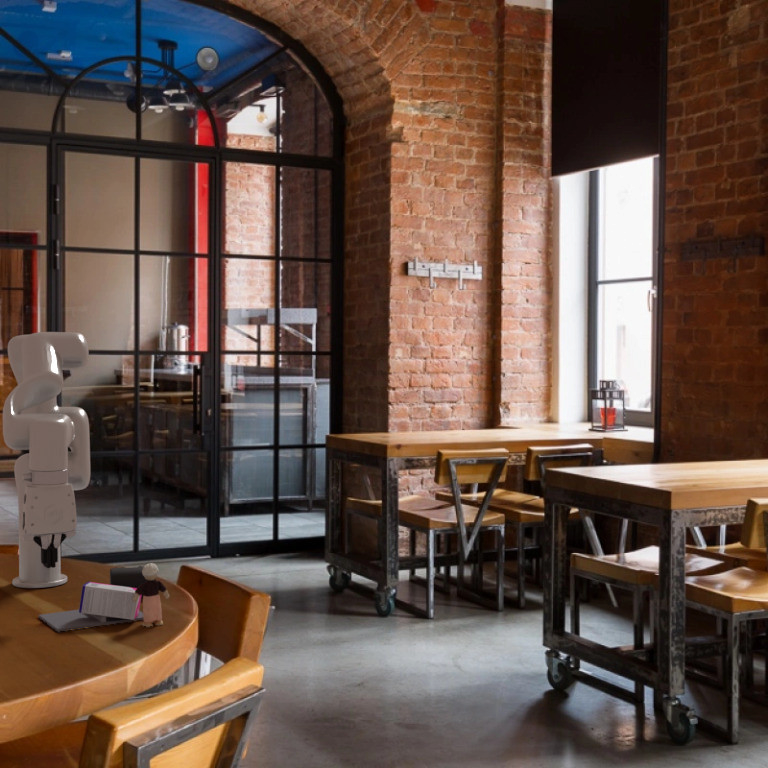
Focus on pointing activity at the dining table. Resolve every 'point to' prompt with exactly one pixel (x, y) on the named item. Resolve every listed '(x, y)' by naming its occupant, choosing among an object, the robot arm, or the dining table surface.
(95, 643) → the dining table surface
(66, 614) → the mat
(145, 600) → the grandmother figurine
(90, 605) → the supplement box
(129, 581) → the end cap
